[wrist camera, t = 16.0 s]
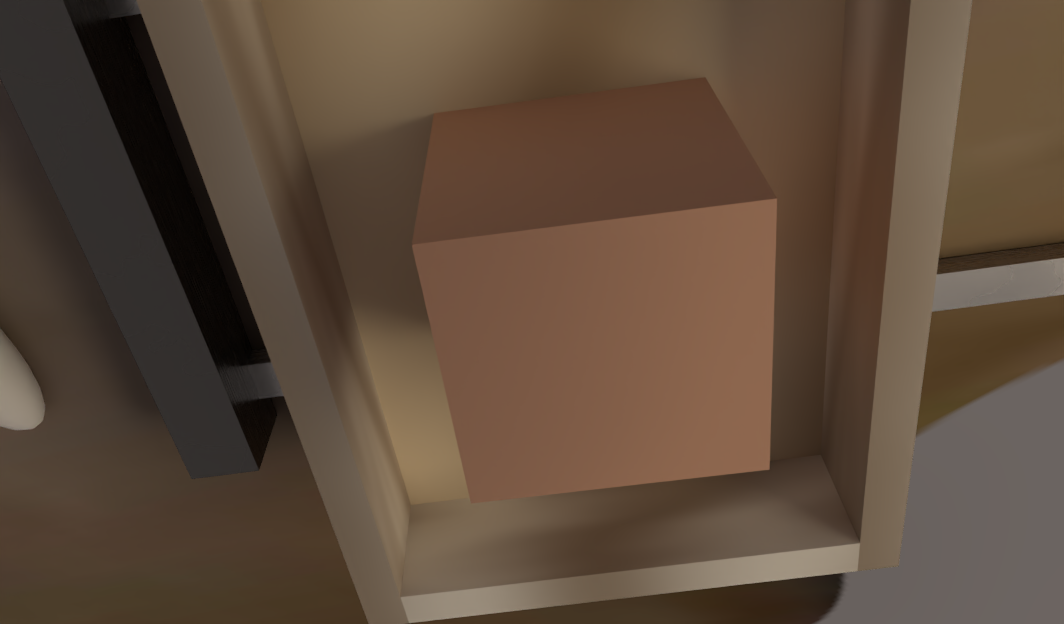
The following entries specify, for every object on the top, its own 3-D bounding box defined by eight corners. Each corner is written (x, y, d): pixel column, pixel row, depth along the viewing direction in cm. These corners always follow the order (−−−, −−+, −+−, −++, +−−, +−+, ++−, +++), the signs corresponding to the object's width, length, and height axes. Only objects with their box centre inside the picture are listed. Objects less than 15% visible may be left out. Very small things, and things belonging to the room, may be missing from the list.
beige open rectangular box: (859, -324, 14) (1017, -346, 10) (821, 405, 22) (898, 566, 18) (193, -213, 14) (66, -189, 10) (394, 458, 22) (370, 627, 18)
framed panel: (1626, -353, 14) (1775, -364, 13) (1354, 275, 21) (1428, 323, 19) (-10, -91, 16) (-71, -70, 14) (214, 422, 22) (191, 479, 21)
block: (705, 77, 15) (776, 198, 11) (709, 306, 17) (769, 469, 13) (433, 113, 15) (412, 244, 11) (477, 334, 17) (470, 503, 13)
